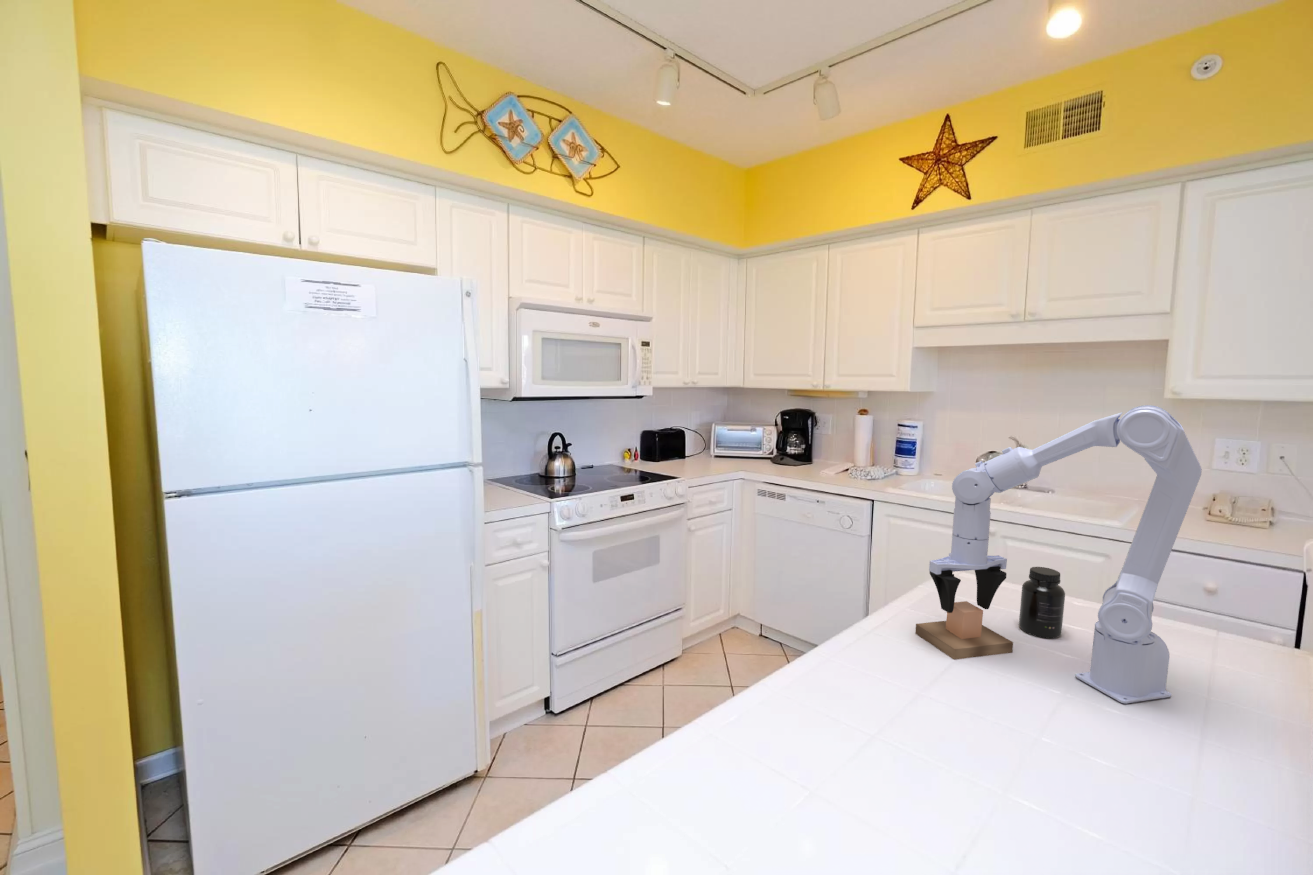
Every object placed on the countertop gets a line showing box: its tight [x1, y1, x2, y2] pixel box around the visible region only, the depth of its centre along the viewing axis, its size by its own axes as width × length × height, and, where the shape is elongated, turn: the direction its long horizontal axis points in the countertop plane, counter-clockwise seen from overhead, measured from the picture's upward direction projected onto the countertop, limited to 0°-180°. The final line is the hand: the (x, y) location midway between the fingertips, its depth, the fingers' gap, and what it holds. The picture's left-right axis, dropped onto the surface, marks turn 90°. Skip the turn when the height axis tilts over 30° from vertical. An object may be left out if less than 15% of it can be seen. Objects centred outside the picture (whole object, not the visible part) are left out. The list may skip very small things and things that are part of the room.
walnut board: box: [915, 620, 1014, 661], centre depth 105 cm, size 12×10×2 cm
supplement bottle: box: [1018, 566, 1066, 639], centre depth 109 cm, size 7×7×12 cm
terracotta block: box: [945, 600, 984, 639], centre depth 104 cm, size 4×4×5 cm
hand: (964, 608), depth 104 cm, fingers open, 7 cm apart
